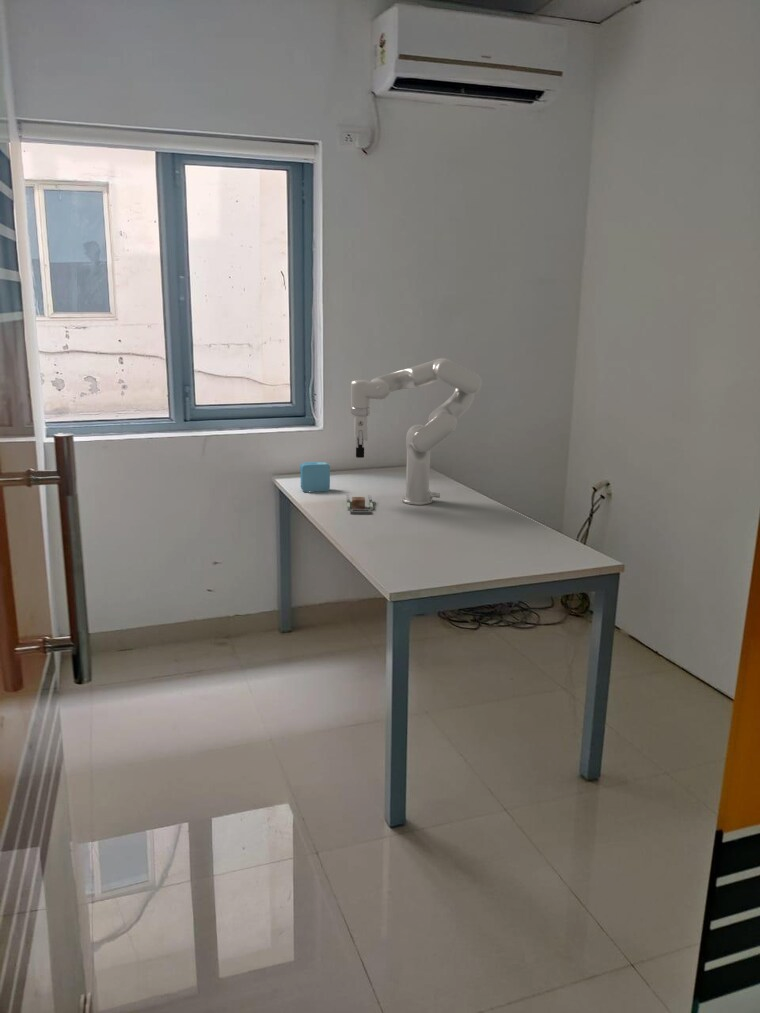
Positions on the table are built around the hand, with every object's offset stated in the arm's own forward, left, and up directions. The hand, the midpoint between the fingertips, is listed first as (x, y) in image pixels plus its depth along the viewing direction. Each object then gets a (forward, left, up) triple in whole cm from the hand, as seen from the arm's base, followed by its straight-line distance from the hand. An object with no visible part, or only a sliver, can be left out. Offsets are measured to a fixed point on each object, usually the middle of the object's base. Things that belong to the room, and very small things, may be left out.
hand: (360, 457), depth 313 cm
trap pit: (0, +16, -19) cm, 25 cm away
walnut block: (+1, +9, -19) cm, 21 cm away
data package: (+18, -20, -19) cm, 33 cm away
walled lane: (0, +2, -19) cm, 19 cm away
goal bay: (0, +9, -19) cm, 21 cm away
